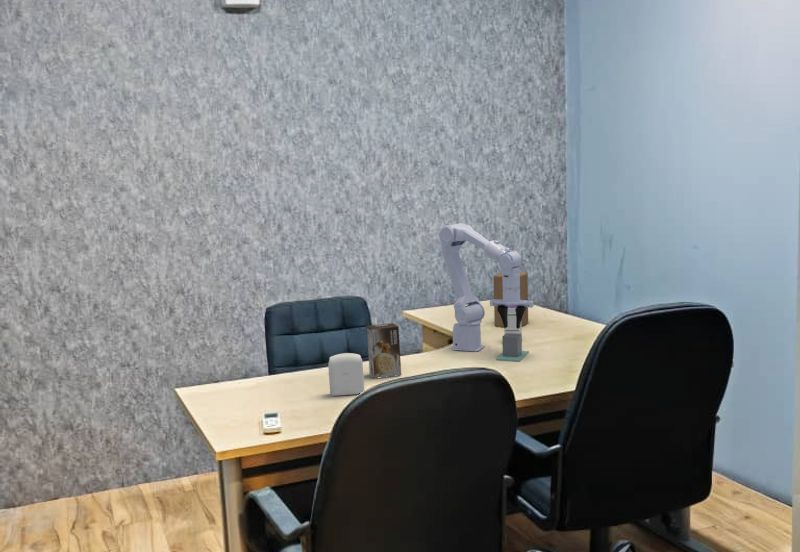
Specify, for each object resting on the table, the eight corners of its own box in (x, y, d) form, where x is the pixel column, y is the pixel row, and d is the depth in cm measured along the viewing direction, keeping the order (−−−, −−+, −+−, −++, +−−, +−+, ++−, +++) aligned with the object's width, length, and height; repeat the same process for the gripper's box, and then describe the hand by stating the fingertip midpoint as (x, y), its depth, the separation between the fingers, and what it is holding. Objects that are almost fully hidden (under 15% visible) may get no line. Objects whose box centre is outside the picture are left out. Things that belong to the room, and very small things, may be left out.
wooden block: (518, 329, 357) (517, 277, 353) (494, 326, 362) (493, 275, 358) (528, 323, 365) (528, 272, 362) (505, 321, 370) (504, 271, 367)
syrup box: (520, 344, 332) (520, 304, 330) (504, 344, 334) (503, 304, 331) (522, 340, 338) (521, 301, 335) (505, 340, 339) (504, 301, 337)
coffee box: (396, 371, 304) (394, 322, 301) (401, 376, 298) (399, 326, 295) (368, 374, 302) (366, 325, 299) (373, 379, 296) (371, 329, 293)
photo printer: (330, 397, 278) (327, 356, 276) (329, 393, 282) (327, 352, 280) (364, 394, 279) (362, 354, 277) (363, 390, 283) (362, 350, 281)
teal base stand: (496, 360, 313) (495, 342, 312) (505, 351, 323) (505, 334, 322) (519, 361, 310) (519, 343, 309) (528, 352, 320) (528, 335, 319)
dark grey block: (502, 356, 315) (502, 336, 314) (506, 352, 320) (506, 333, 318) (517, 357, 313) (517, 337, 312) (521, 353, 318) (521, 333, 316)
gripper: (486, 289, 312) (487, 329, 314) (529, 290, 306) (530, 331, 308) (492, 285, 318) (493, 324, 320) (534, 286, 313) (535, 326, 315)
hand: (512, 327), depth 315 cm, fingers open, 4 cm apart
